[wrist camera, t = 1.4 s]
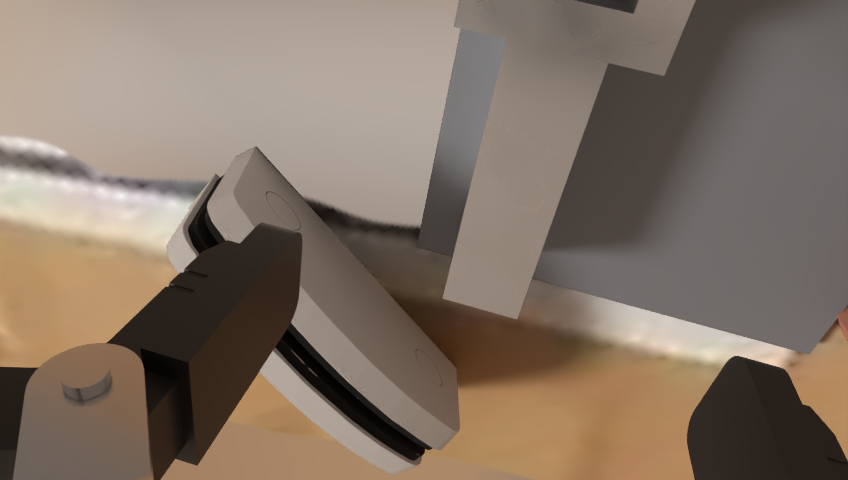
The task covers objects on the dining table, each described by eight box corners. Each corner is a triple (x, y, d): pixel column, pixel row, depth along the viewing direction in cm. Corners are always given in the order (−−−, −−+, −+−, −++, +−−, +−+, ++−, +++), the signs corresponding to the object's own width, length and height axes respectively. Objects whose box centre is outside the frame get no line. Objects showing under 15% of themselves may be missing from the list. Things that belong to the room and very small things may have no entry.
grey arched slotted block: (193, 193, 29) (98, 264, 20) (259, 137, 28) (193, 182, 19) (395, 399, 34) (395, 535, 25) (456, 356, 33) (480, 479, 24)
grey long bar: (522, -213, 17) (506, -247, 13) (725, -174, 17) (777, -196, 12) (429, 225, 26) (403, 287, 22) (560, 260, 26) (557, 330, 21)
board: (528, -291, 17) (526, -298, 16) (1194, -172, 15) (1223, -174, 14) (420, 238, 28) (416, 247, 27) (802, 342, 26) (808, 354, 25)
